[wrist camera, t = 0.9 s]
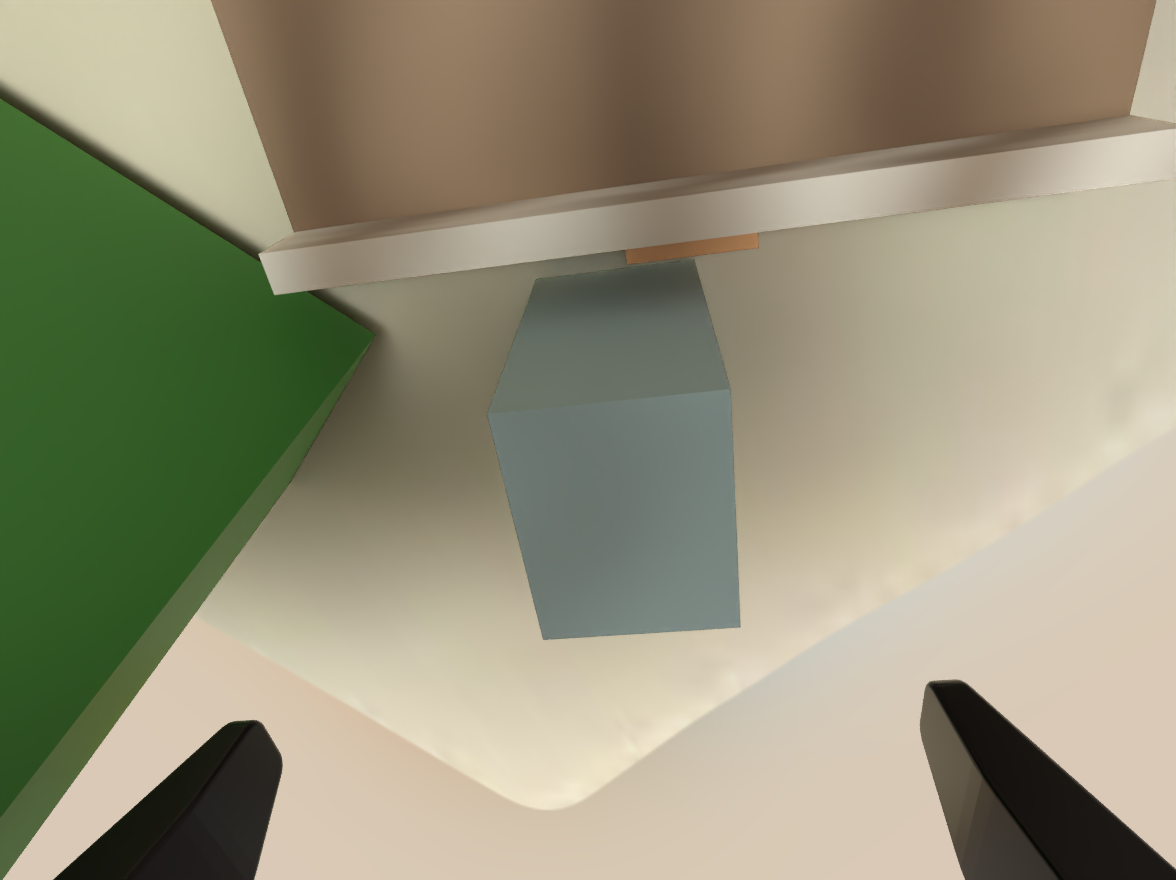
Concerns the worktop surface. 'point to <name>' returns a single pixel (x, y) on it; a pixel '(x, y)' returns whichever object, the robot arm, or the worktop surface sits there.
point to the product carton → (620, 454)
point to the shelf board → (668, 121)
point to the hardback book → (127, 442)
